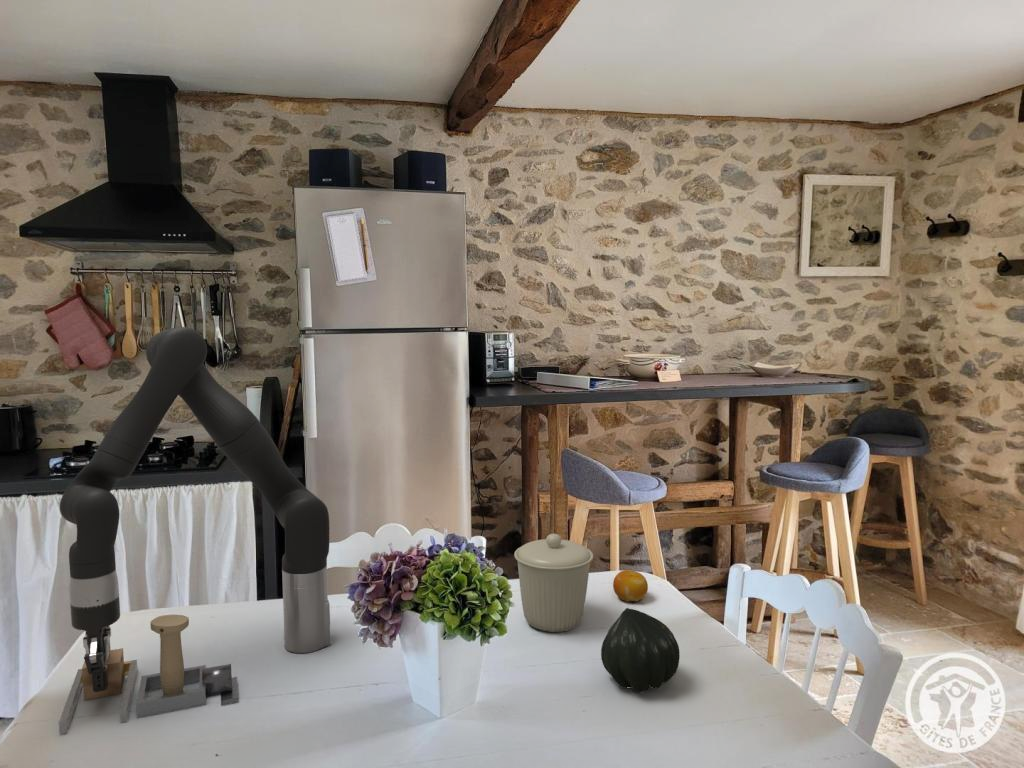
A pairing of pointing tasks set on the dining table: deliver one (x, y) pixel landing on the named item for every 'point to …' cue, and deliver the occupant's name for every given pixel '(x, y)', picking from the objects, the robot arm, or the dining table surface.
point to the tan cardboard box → (114, 676)
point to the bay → (75, 691)
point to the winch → (209, 684)
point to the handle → (171, 651)
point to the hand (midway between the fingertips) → (100, 689)
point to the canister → (553, 582)
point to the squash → (640, 651)
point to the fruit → (630, 585)
